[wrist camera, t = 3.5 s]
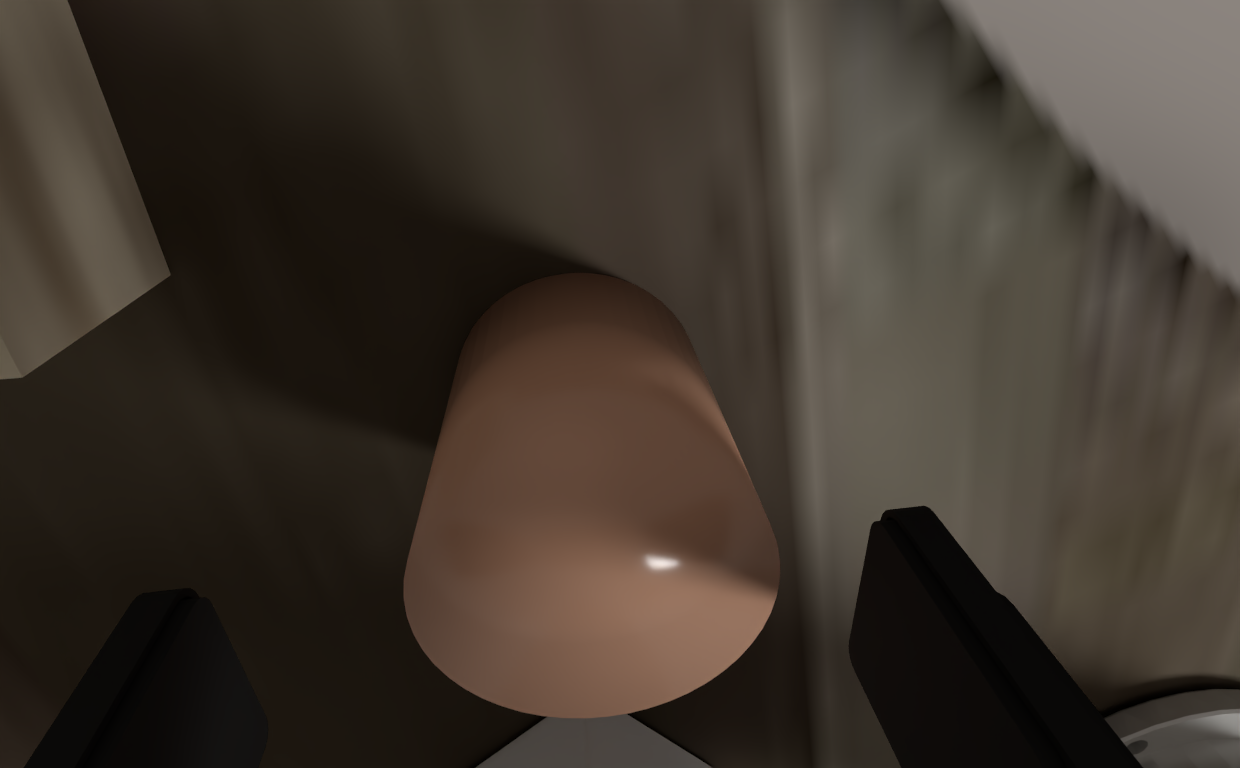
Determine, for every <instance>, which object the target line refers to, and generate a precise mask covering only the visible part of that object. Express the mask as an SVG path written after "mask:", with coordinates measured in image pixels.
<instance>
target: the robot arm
mask: <svg viewBox="0 0 1240 768" xmlns="http://www.w3.org/2000/svg"><path fill="white" fill-rule="evenodd" d="M849 654H850V659H851V663H852V666H853V668H854V671H855V673H856V675H857V677H858V679H859V681H860V683H861V685H862V687H863V689H864V691H865V693H866V695H867V697H868V699H869V702H870V704H871V706H872V708H873V710H874V712H875V714H876V716H877V718H878V720H879V722H880V724H881V726H882V728H883V730H884V733H885V735H886V737H887V739H888V741H889V743H890V745H891V747H892V749H893V751H894V753H895V755H896V757H897V759H898V761H899V764H900V766H901V768H1240V689H1207V690H1198V691H1190V692H1182V693H1178V694H1173V695H1169V696H1165V697H1161V698H1156V699H1152V700H1149V701H1146V702H1143V703H1140V704H1137V705H1134V706H1132V707H1129V708H1126V709H1123V710H1120V711H1118V712H1116V713H1113V714H1111V715H1109V716H1107V717H1105V718H1103V717H1102V715H1101V714H1100V713H1099V712H1098V710H1097V709H1096V708H1095V707H1094V705H1093V704H1092V703H1091V702H1090V700H1089V699H1088V698H1087V696H1086V695H1085V694H1084V693H1083V691H1082V690H1081V689H1080V688H1079V686H1078V685H1077V684H1076V683H1075V681H1074V680H1073V679H1072V678H1071V676H1070V675H1069V674H1068V673H1067V671H1066V670H1065V669H1064V668H1063V666H1062V665H1061V664H1060V663H1059V661H1058V660H1057V659H1056V658H1055V656H1054V655H1053V654H1052V653H1051V651H1050V650H1049V649H1048V648H1047V646H1046V645H1045V644H1044V643H1043V641H1042V640H1041V639H1040V638H1039V636H1038V635H1037V634H1036V633H1035V631H1034V630H1033V629H1032V628H1031V626H1030V625H1029V624H1028V623H1027V621H1026V620H1025V619H1024V617H1023V616H1022V615H1021V614H1020V612H1019V611H1018V610H1017V609H1016V607H1015V606H1014V605H1013V604H1012V603H1011V602H1010V601H1009V600H1008V599H1007V598H1006V597H1005V596H1003V595H1001V594H1000V593H998V592H996V591H995V590H994V588H993V587H992V586H991V585H990V583H989V582H988V581H987V579H986V578H985V577H984V576H983V574H982V573H981V572H980V571H979V569H978V568H977V567H976V565H975V564H974V563H973V562H972V560H971V559H970V558H969V557H968V555H967V554H966V553H965V551H964V550H963V549H962V548H961V546H960V545H959V544H958V543H957V541H956V540H955V539H954V537H953V536H952V535H951V534H950V532H949V531H948V530H947V529H946V527H945V526H944V525H943V523H942V522H941V521H940V520H939V518H938V517H937V516H936V515H935V513H934V512H933V511H932V510H931V509H930V508H928V507H926V506H918V507H909V508H900V509H892V510H886V511H885V512H884V513H883V514H882V517H881V520H880V521H876V522H874V523H873V524H872V526H871V529H870V535H869V540H868V545H867V550H866V556H865V561H864V566H863V571H862V577H861V582H860V587H859V592H858V598H857V603H856V608H855V613H854V619H853V624H852V629H851V634H850V640H849ZM267 737H268V722H267V718H266V715H265V713H264V711H263V709H262V707H261V705H260V703H259V701H258V699H257V697H256V695H255V693H254V690H253V688H252V686H251V684H250V682H249V680H248V678H247V676H246V674H245V672H244V670H243V668H242V666H241V663H240V661H239V659H238V657H237V655H236V653H235V651H234V649H233V647H232V645H231V643H230V641H229V639H228V637H227V634H226V632H225V630H224V628H223V626H222V624H221V622H220V620H219V618H218V616H217V614H216V612H215V610H214V607H213V605H212V603H211V602H210V601H209V599H207V598H205V597H203V598H199V596H198V595H197V593H196V592H195V591H194V590H192V589H190V588H185V589H176V590H167V591H158V592H149V593H142V594H141V595H139V596H137V597H136V598H135V600H134V601H133V602H132V603H131V604H130V606H129V608H128V609H127V611H126V612H125V614H124V615H123V617H122V618H121V620H120V621H119V623H118V624H117V626H116V627H115V629H114V630H113V632H112V634H111V635H110V637H109V638H108V640H107V641H106V643H105V644H104V646H103V647H102V649H101V650H100V652H99V653H98V655H97V656H96V658H95V660H94V661H93V663H92V664H91V666H90V667H89V669H88V670H87V672H86V673H85V675H84V676H83V678H82V679H81V681H80V682H79V684H78V686H77V687H76V689H75V690H74V692H73V693H72V695H71V696H70V698H69V699H68V701H67V702H66V704H65V705H64V707H63V708H62V710H61V712H60V713H59V715H58V716H57V718H56V719H55V721H54V722H53V724H52V725H51V727H50V728H49V730H48V731H47V733H46V734H45V736H44V738H43V739H42V741H41V742H40V744H39V745H38V747H37V748H36V750H35V751H34V753H33V754H32V756H31V757H30V759H29V760H28V762H27V764H26V765H25V767H24V768H258V767H259V764H260V761H261V758H262V755H263V753H264V750H265V747H266V743H267Z"/></svg>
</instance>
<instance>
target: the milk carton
mask: <svg viewBox="0 0 1240 768" xmlns="http://www.w3.org/2000/svg"><path fill="white" fill-rule="evenodd" d="M475 768H712V767H710V766H709V765H707V764H706V763H704V762H703V761H701V760H700V759H698V758H696V757H695V756H693V755H692V754H690V753H688V752H687V751H685V750H683V749H682V748H680V747H679V746H677V745H675V744H674V743H672V742H671V741H669V740H667V739H666V738H664V737H663V736H661V735H659V734H658V733H656V732H655V731H653V730H651V729H650V728H648V727H647V726H645V725H643V724H642V723H640V722H639V721H637V720H635V719H634V718H632V717H631V716H629V715H627V714H622V715H615V716H609V717H598V718H557V717H546V718H544V719H543V720H542V721H540V722H539V723H537V724H536V725H535V726H533V727H532V728H530V729H529V730H528V731H526V732H525V733H523V734H522V735H520V736H519V737H518V738H516V739H515V740H513V741H512V742H511V743H509V744H508V745H506V746H505V747H504V748H502V749H501V750H499V751H498V752H497V753H495V754H494V755H492V756H491V757H490V758H488V759H487V760H485V761H484V762H482V763H481V764H480V765H478V766H477V767H475Z"/></svg>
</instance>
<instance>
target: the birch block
mask: <svg viewBox="0 0 1240 768" xmlns="http://www.w3.org/2000/svg"><path fill="white" fill-rule="evenodd" d="M170 275H171V274H170V271H169V269H168V266H167V263H166V261H165V258H164V255H163V253H162V250H161V247H160V245H159V242H158V239H157V237H156V234H155V231H154V229H153V226H152V223H151V221H150V218H149V215H148V213H147V210H146V207H145V205H144V202H143V199H142V197H141V194H140V192H139V189H138V186H137V184H136V181H135V178H134V176H133V173H132V170H131V168H130V165H129V162H128V160H127V157H126V154H125V152H124V149H123V146H122V144H121V141H120V138H119V136H118V133H117V130H116V128H115V125H114V122H113V120H112V117H111V115H110V112H109V109H108V107H107V104H106V101H105V99H104V96H103V93H102V91H101V88H100V85H99V83H98V80H97V77H96V75H95V72H94V69H93V67H92V64H91V61H90V59H89V56H88V53H87V51H86V48H85V45H84V43H83V40H82V38H81V35H80V32H79V30H78V27H77V24H76V22H75V19H74V16H73V14H72V11H71V8H70V6H69V3H68V0H0V379H12V378H23V377H24V376H26V375H27V374H29V373H30V372H31V371H33V370H34V369H36V368H37V367H39V366H40V365H42V364H43V363H45V362H46V361H47V360H49V359H50V358H52V357H53V356H55V355H56V354H58V353H59V352H60V351H62V350H63V349H65V348H66V347H68V346H69V345H71V344H72V343H73V342H75V341H76V340H78V339H79V338H81V337H82V336H84V335H85V334H86V333H88V332H89V331H91V330H92V329H94V328H95V327H97V326H98V325H100V324H101V323H102V322H104V321H105V320H107V319H108V318H110V317H111V316H113V315H114V314H115V313H117V312H118V311H120V310H121V309H123V308H124V307H126V306H127V305H128V304H130V303H131V302H133V301H134V300H136V299H137V298H139V297H140V296H141V295H143V294H144V293H146V292H147V291H149V290H150V289H152V288H153V287H154V286H156V285H157V284H159V283H160V282H162V281H163V280H165V279H166V278H168V277H169V276H170Z"/></svg>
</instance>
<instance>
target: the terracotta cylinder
mask: <svg viewBox="0 0 1240 768" xmlns="http://www.w3.org/2000/svg"><path fill="white" fill-rule="evenodd" d="M779 581H780V557H779V551H778V545H777V541H776V538H775V535H774V533H773V530H772V527H771V525H770V522H769V520H768V518H767V515H766V513H765V511H764V509H763V506H762V504H761V502H760V499H759V497H758V495H757V493H756V490H755V488H754V486H753V483H752V481H751V479H750V476H749V474H748V472H747V470H746V467H745V465H744V463H743V460H742V458H741V456H740V454H739V451H738V449H737V447H736V444H735V442H734V440H733V438H732V435H731V433H730V431H729V428H728V426H727V424H726V422H725V419H724V417H723V415H722V412H721V410H720V408H719V406H718V403H717V401H716V399H715V396H714V394H713V392H712V389H711V387H710V385H709V383H708V380H707V378H706V376H705V373H704V371H703V369H702V367H701V364H700V362H699V360H698V357H697V355H696V353H695V351H694V348H693V346H692V344H691V341H690V339H689V337H688V335H687V333H686V331H685V330H684V328H683V326H682V324H681V323H680V322H679V320H678V319H677V318H676V316H675V315H674V314H673V313H672V312H671V311H670V310H669V309H668V308H667V307H666V306H665V305H664V304H663V303H662V302H661V301H660V300H658V299H657V298H656V297H654V296H653V295H652V294H650V293H649V292H647V291H645V290H644V289H642V288H640V287H638V286H636V285H634V284H632V283H629V282H626V281H624V280H621V279H618V278H614V277H610V276H606V275H600V274H592V273H566V274H559V275H552V276H548V277H544V278H541V279H537V280H534V281H532V282H529V283H527V284H524V285H522V286H520V287H518V288H516V289H514V290H513V291H511V292H509V293H507V294H506V295H504V296H503V297H502V298H500V299H499V300H498V301H496V302H495V303H494V304H493V305H492V306H491V307H490V308H489V309H488V310H487V311H486V312H485V313H484V314H483V315H482V316H481V317H480V318H479V320H478V321H477V322H476V324H475V325H474V326H473V328H472V329H471V331H470V333H469V335H468V337H467V339H466V340H465V343H464V345H463V348H462V351H461V354H460V357H459V361H458V365H457V369H456V373H455V376H454V380H453V384H452V388H451V392H450V396H449V400H448V404H447V408H446V412H445V415H444V419H443V423H442V427H441V431H440V435H439V439H438V443H437V447H436V451H435V455H434V458H433V462H432V466H431V470H430V474H429V478H428V482H427V486H426V490H425V494H424V497H423V501H422V505H421V509H420V513H419V517H418V521H417V525H416V529H415V533H414V537H413V540H412V544H411V548H410V552H409V556H408V560H407V565H406V570H405V575H404V604H405V609H406V615H407V618H408V621H409V624H410V627H411V629H412V632H413V634H414V636H415V638H416V640H417V641H418V643H419V645H420V647H421V648H422V650H423V651H424V652H425V654H426V655H427V656H428V657H429V659H430V660H431V661H432V662H433V664H434V665H435V666H437V667H438V668H439V669H440V670H441V671H442V672H443V673H444V674H445V675H446V676H447V677H448V678H450V679H451V680H453V681H454V682H455V683H457V684H458V685H460V686H461V687H463V688H464V689H466V690H468V691H469V692H471V693H473V694H475V695H477V696H479V697H480V698H482V699H485V700H487V701H490V702H492V703H495V704H497V705H500V706H503V707H506V708H509V709H513V710H516V711H519V712H524V713H529V714H534V715H539V716H547V717H557V718H598V717H609V716H615V715H622V714H628V713H632V712H636V711H640V710H645V709H649V708H652V707H655V706H658V705H661V704H664V703H667V702H669V701H672V700H674V699H676V698H678V697H681V696H683V695H685V694H688V693H690V692H691V691H693V690H695V689H697V688H699V687H700V686H702V685H704V684H706V683H707V682H709V681H710V680H712V679H713V678H715V677H716V676H718V675H719V674H720V673H722V672H723V671H724V670H726V669H727V668H728V667H729V666H730V665H731V664H733V663H734V662H735V661H736V660H737V659H738V658H739V657H740V656H741V655H742V654H743V653H744V652H745V651H746V650H747V649H748V648H749V646H750V645H751V644H752V643H753V641H754V640H755V639H756V637H757V636H758V634H759V633H760V632H761V630H762V629H763V627H764V625H765V623H766V621H767V619H768V617H769V616H770V614H771V611H772V608H773V605H774V603H775V600H776V597H777V592H778V587H779Z"/></svg>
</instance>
